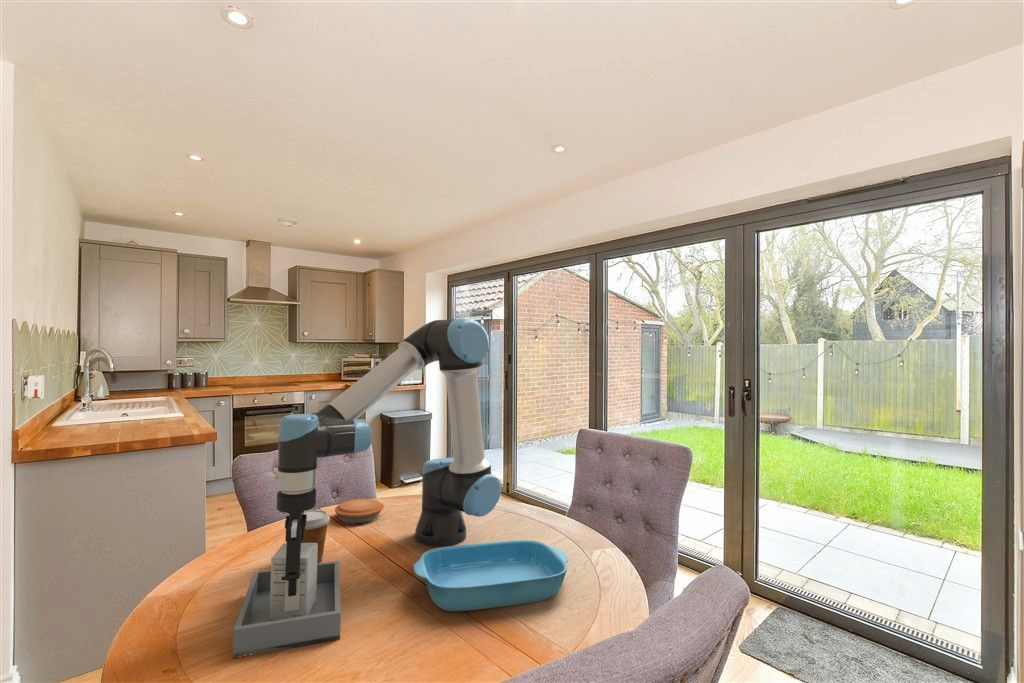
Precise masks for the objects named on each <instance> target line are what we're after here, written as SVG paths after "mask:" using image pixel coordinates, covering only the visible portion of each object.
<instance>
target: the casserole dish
mask: <svg viewBox="0 0 1024 683" xmlns="http://www.w3.org/2000/svg"><path fill="white" fill-rule="evenodd" d="M568 562H569V557H568V554H566V553H565V552H564V551H563V550H561V549H560V548H557V547H554V546H550V545H548V544H546V543H545V542H542V541H540V540H532V539H520V540H519V539H516V540H503V541H502V540H501V541H492V542H490V541H489V542H480V543H470V544H469V543H468V544H459V545H449V546H440V547H436V548H432V549H429V550H427V551H425V552H424V553H423V554H422V555H421V556H420V559H419V560H417V561H416V562H415V563H414V565H413V567H412V568H413V572H414V574H415V575H416V577H417V578H419V579H421V580H424V581H425V584H426V588H427V591H428V594H429V596H430V599H431V601H433V603H434V604H435V605H436V606H437V607H438V608H440V609H442V610H443V611H446V612H466V611H467V612H468V611H476V610H486V609H492V608H500V607H507V606H508V607H509V606H516V605H523V604H529V603H536V602H540V601H545V600H549V599H551V598H552V597H555V595H557V593H558V592H559V591H560V589H561V588H562V586H563V582H564V580H565V577H566V573H567V571H568V565H567V563H568Z"/></svg>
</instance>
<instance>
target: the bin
mask: <svg viewBox="0 0 1024 683" xmlns="http://www.w3.org/2000/svg"><path fill="white" fill-rule="evenodd" d="M270 580H271V568H270V569H263V570H262V569H261V570H255V571H253V573H252V576H251V579H250V582H249V585H248V587H247V591H246V592H245V593H246V594H245V597H244V599H243V601H242V605H241V607H240V610H239V614H238V617H237V618H236V622H235V625H234V627H233V632H232V634H233V635H232V636H233V638H232V659H235V658H234V657H238V658H240V657H239V656H244V655H249V656H251V655H250V654H255V655H259V654H258V653H261V654H266V653H271V652H277V651H282V650H288V649H292V648H293V649H294V648H299V647H304V646H309V645H316V644H320V643H321V644H323V643H326V642H331V641H337V640H341V614H342V611H341V586H340V585H341V583H340V582H341V580H340V560H335V561H326V562H320V563H317V589H316V601H315V603H314V605H313V607H312V609H311V611H310V613H309V614H308V615H307V616H300V617H294V618H288V619H282V620H270V619H269V614H270ZM265 652H266V653H265ZM244 657H245V656H244Z"/></svg>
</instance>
